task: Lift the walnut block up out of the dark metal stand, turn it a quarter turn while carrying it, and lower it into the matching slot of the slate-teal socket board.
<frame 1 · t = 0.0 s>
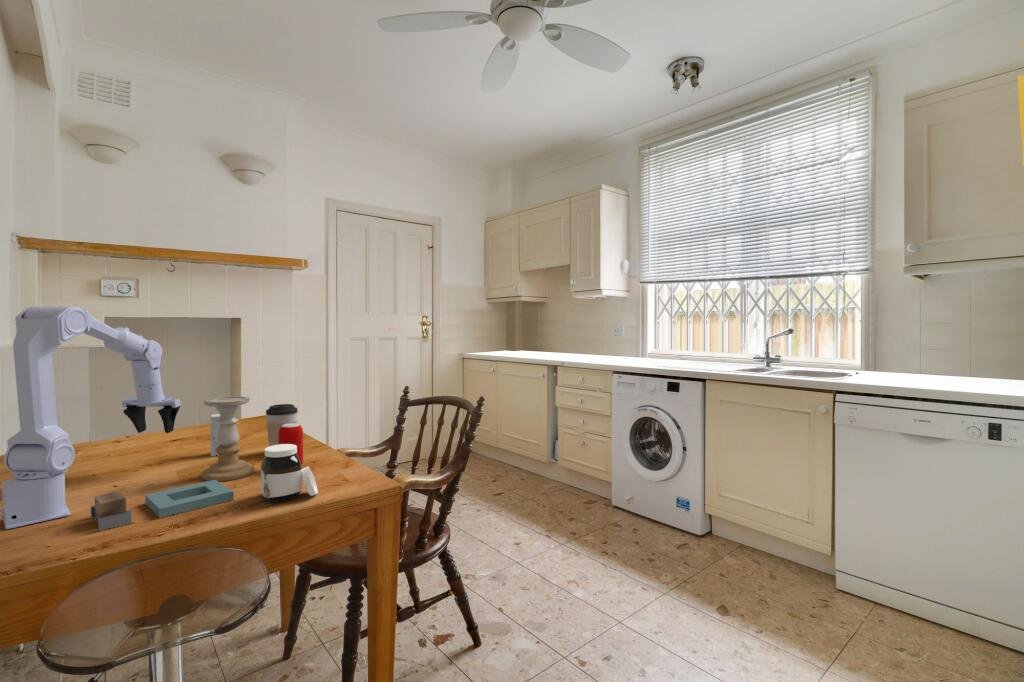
hand: (155, 431, 132), 11 cm above the table, tool pointing down, fingers open, 7 cm apart
beverage can: (291, 467, 136), on the table
walnut block: (110, 521, 99), resting in metal stand
socket board: (189, 501, 110), on the table
skincare box: (222, 454, 149), on the table
metal stand: (110, 520, 99), on the table
candle holder: (228, 475, 129), on the table
coffee cup: (282, 452, 151), on the table
spread jar: (291, 496, 114), on the table
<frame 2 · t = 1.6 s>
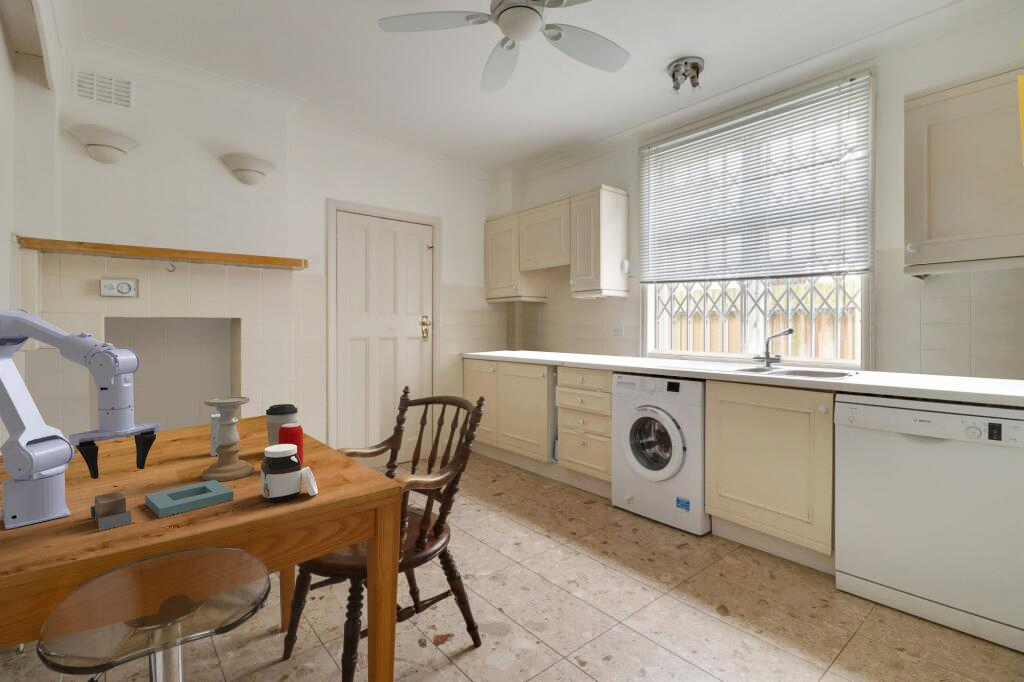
hand: (118, 472, 100), 10 cm above the table, tool pointing down, fingers open, 7 cm apart
nothing on the table moved.
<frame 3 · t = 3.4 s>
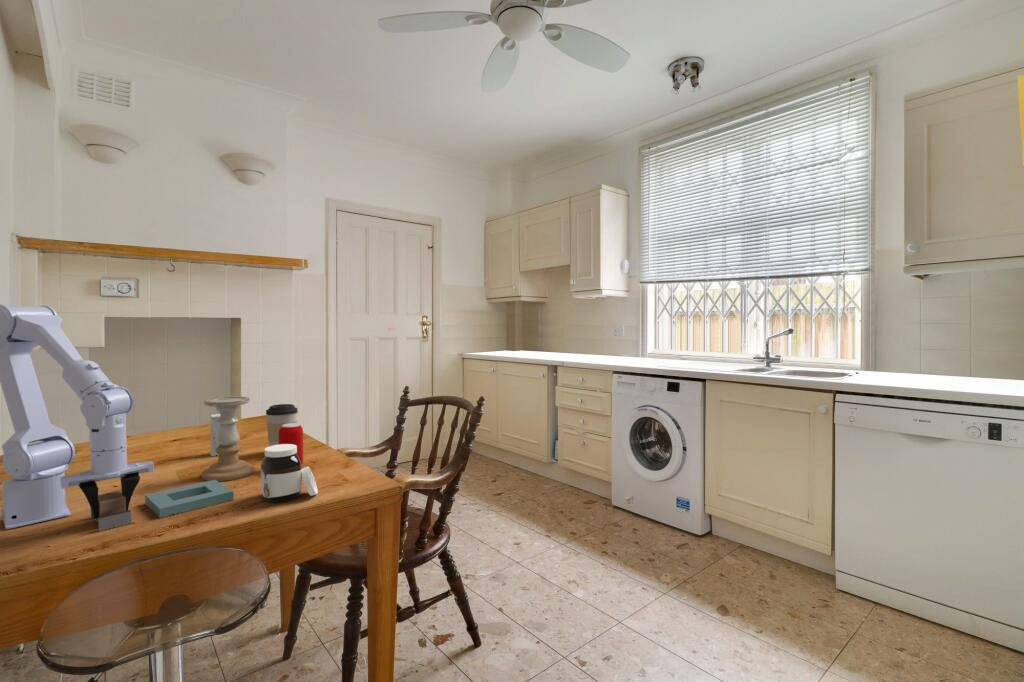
hand: (110, 513, 99), 1 cm above the table, tool pointing down, fingers closed on walnut block, 4 cm apart
walnut block: (110, 520, 99), resting in metal stand, touching gripper
everything else where it was.
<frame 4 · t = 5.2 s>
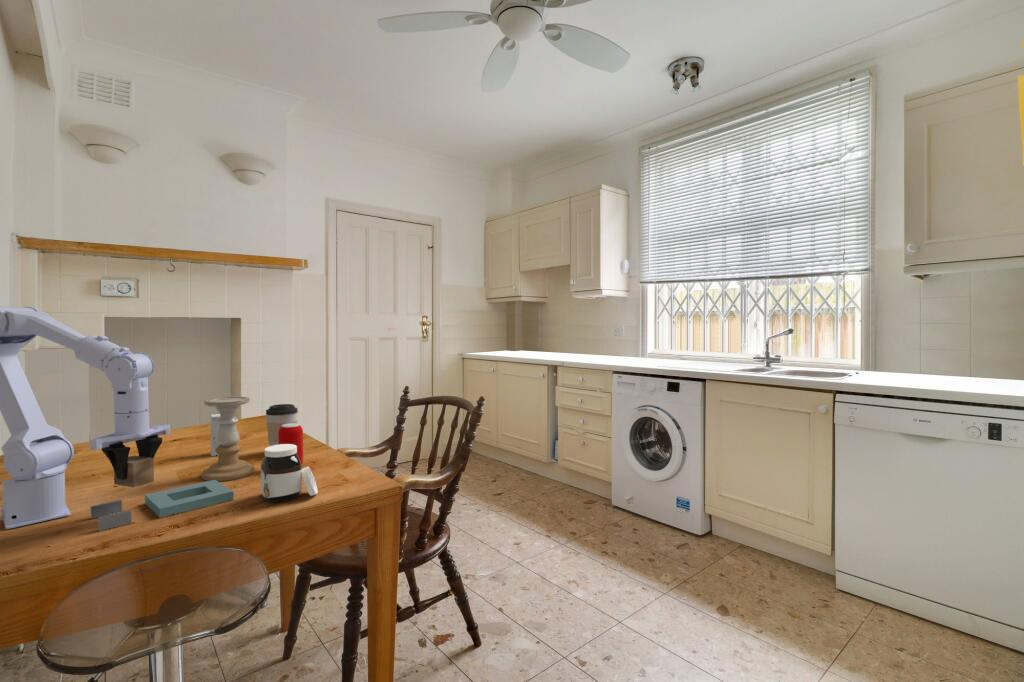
hand: (133, 475, 102), 8 cm above the table, tool pointing down, fingers closed on walnut block, 4 cm apart
walnut block: (134, 482, 102), point 7 cm above the table, touching gripper
everything else where it was.
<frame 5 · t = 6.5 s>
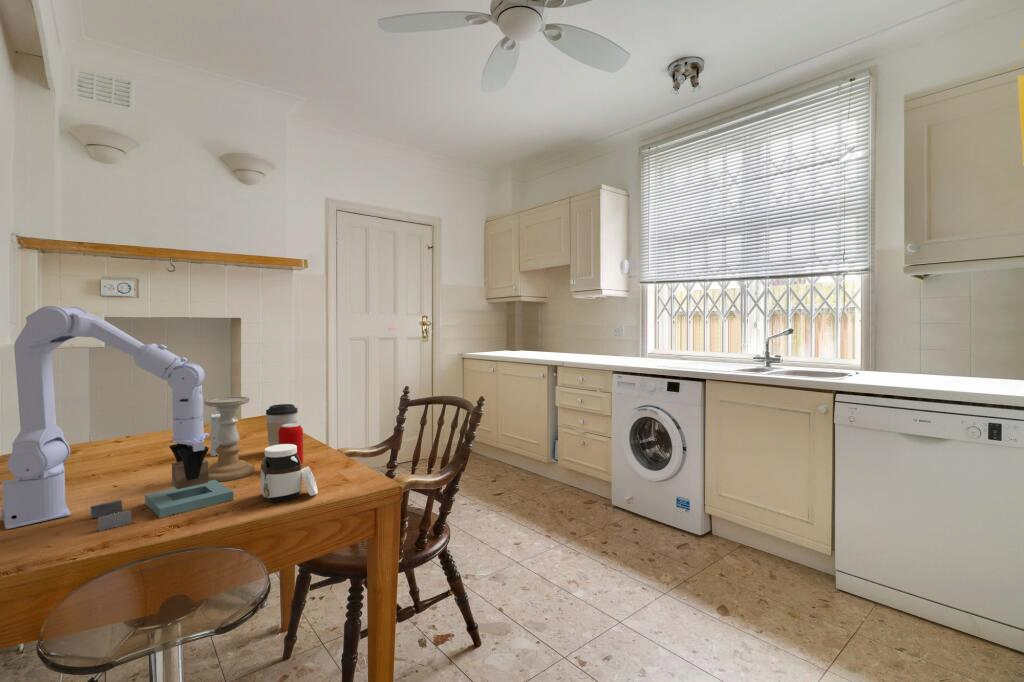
hand: (189, 476, 109), 6 cm above the table, tool pointing down, fingers closed on walnut block, 4 cm apart
walnut block: (190, 483, 110), point 4 cm above the table, touching gripper
everything else where it was.
when the fingers open (3 cm above the table, at t = 7.4 s): walnut block drops 1 cm, resting in socket board.
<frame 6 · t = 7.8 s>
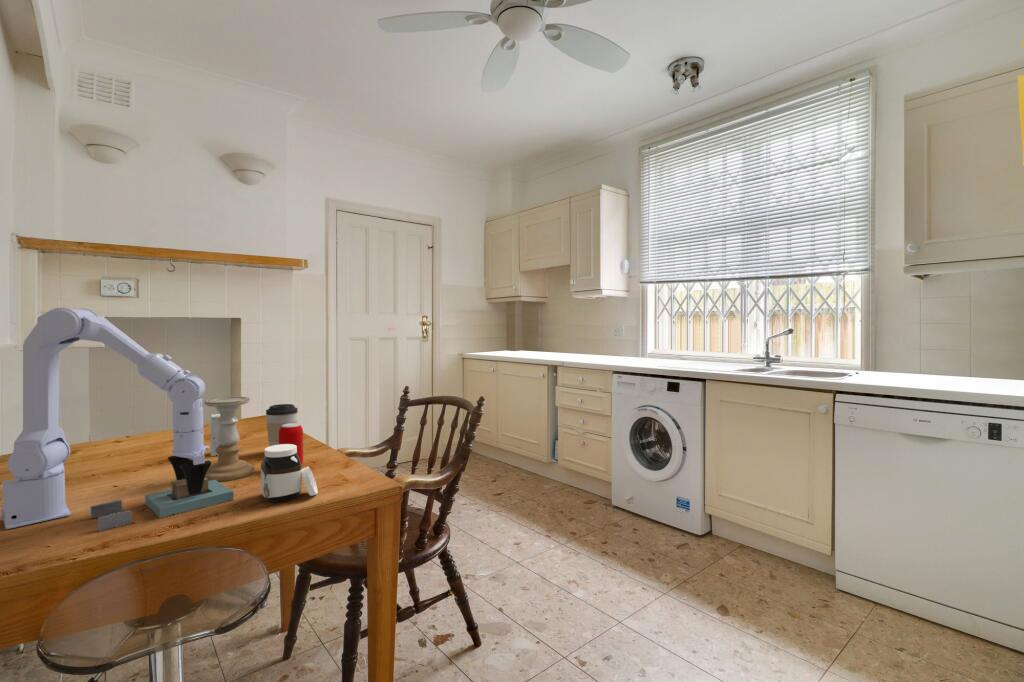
hand: (189, 489, 110), 3 cm above the table, tool pointing down, fingers open, 7 cm apart
walnut block: (190, 502, 110), resting in socket board
everything else where it was.
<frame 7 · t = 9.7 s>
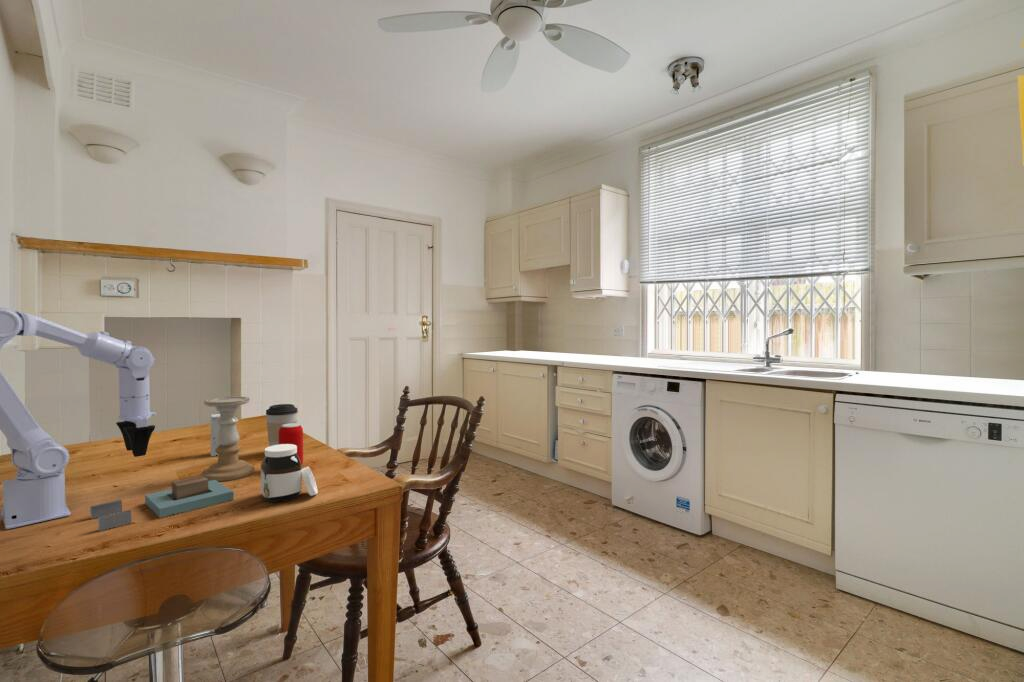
hand: (136, 452, 116), 9 cm above the table, tool pointing down, fingers open, 7 cm apart
nothing on the table moved.
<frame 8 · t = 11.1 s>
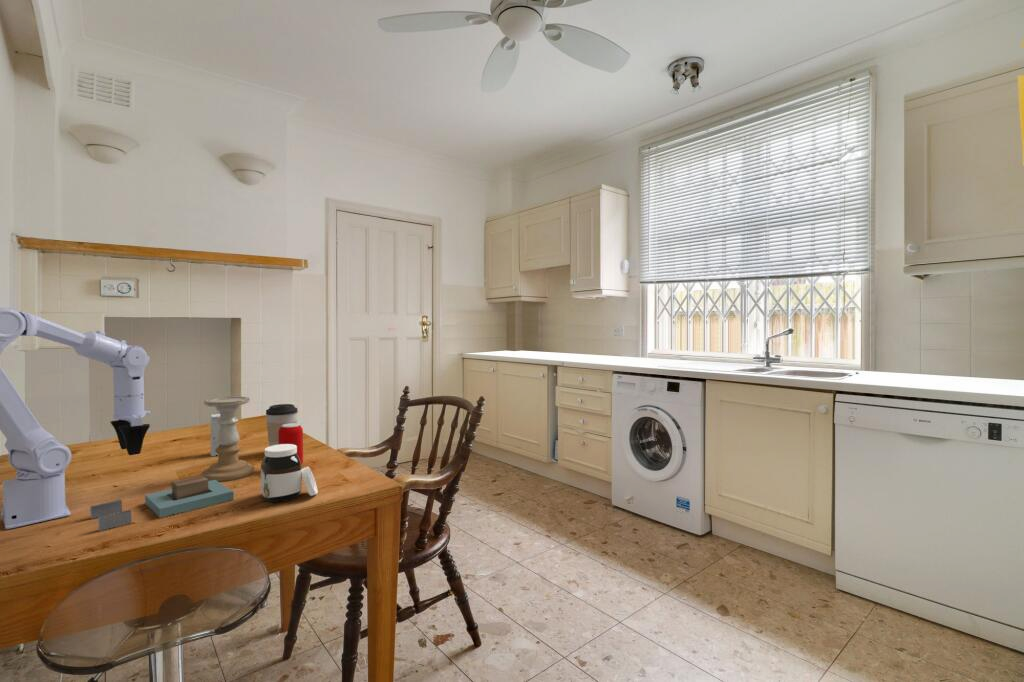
hand: (130, 451, 117), 9 cm above the table, tool pointing down, fingers open, 7 cm apart
nothing on the table moved.
at the end: walnut block 0.1 cm off-centre on the socket board, point 0.0 cm above the socket board's base; walnut block tilted 0°; the gripper is holding nothing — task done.
